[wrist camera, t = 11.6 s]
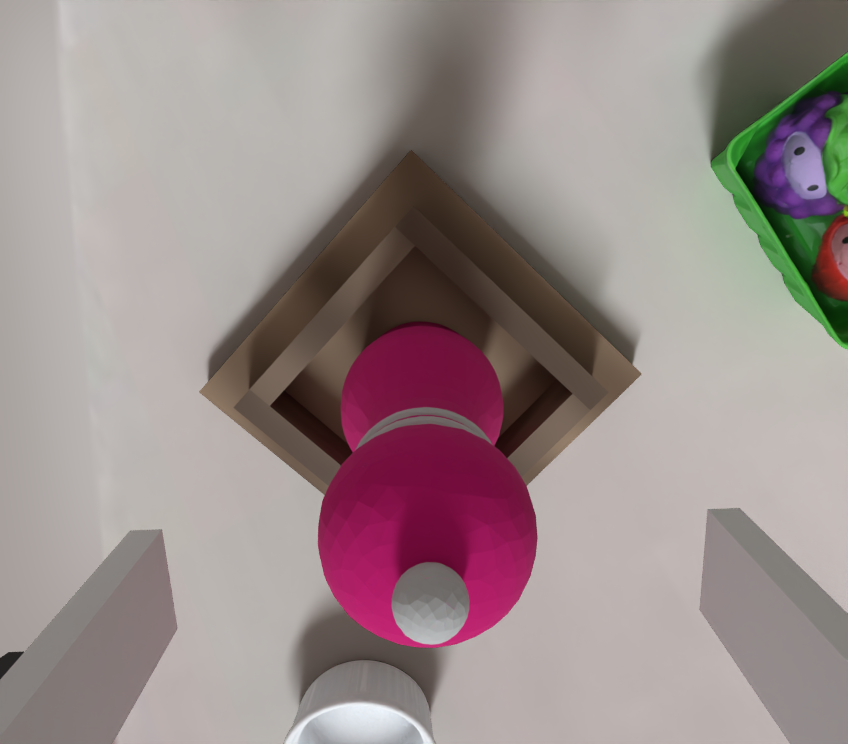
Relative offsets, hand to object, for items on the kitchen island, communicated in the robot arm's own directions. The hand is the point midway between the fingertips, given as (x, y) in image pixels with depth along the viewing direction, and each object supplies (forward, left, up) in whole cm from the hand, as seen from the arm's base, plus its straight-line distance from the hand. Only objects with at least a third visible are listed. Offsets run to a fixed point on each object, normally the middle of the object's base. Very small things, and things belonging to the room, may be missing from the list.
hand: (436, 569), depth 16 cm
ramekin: (+18, +12, -20) cm, 30 cm away
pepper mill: (0, 0, -18) cm, 18 cm away
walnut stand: (0, 0, -20) cm, 20 cm away
